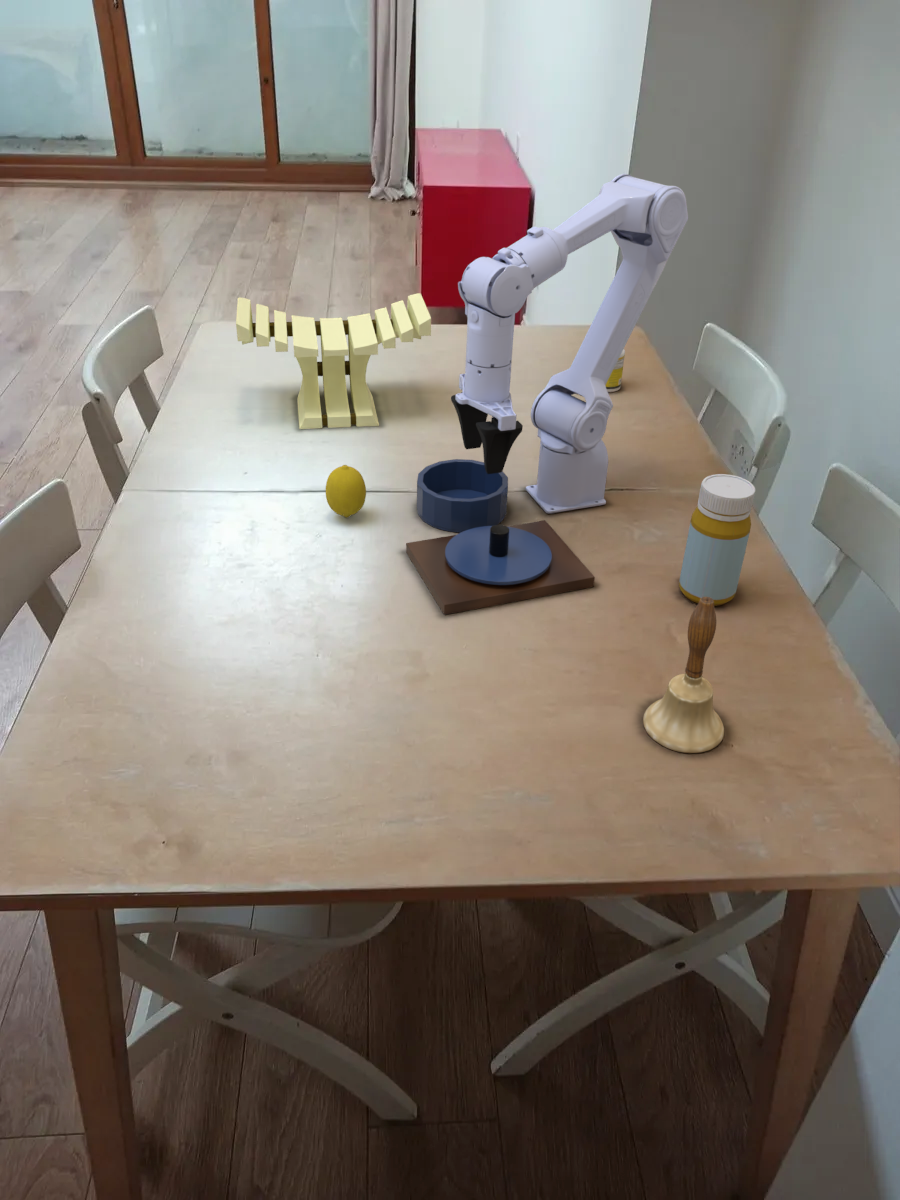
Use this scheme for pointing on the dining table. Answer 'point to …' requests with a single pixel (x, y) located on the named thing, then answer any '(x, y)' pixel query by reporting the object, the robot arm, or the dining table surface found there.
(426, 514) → the tin
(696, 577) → the bottle
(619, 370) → the supplement bottle
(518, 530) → the lid
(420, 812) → the dining table surface
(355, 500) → the lemon
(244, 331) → the slatted curved stool
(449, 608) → the board
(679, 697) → the hand bell
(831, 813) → the dining table surface
